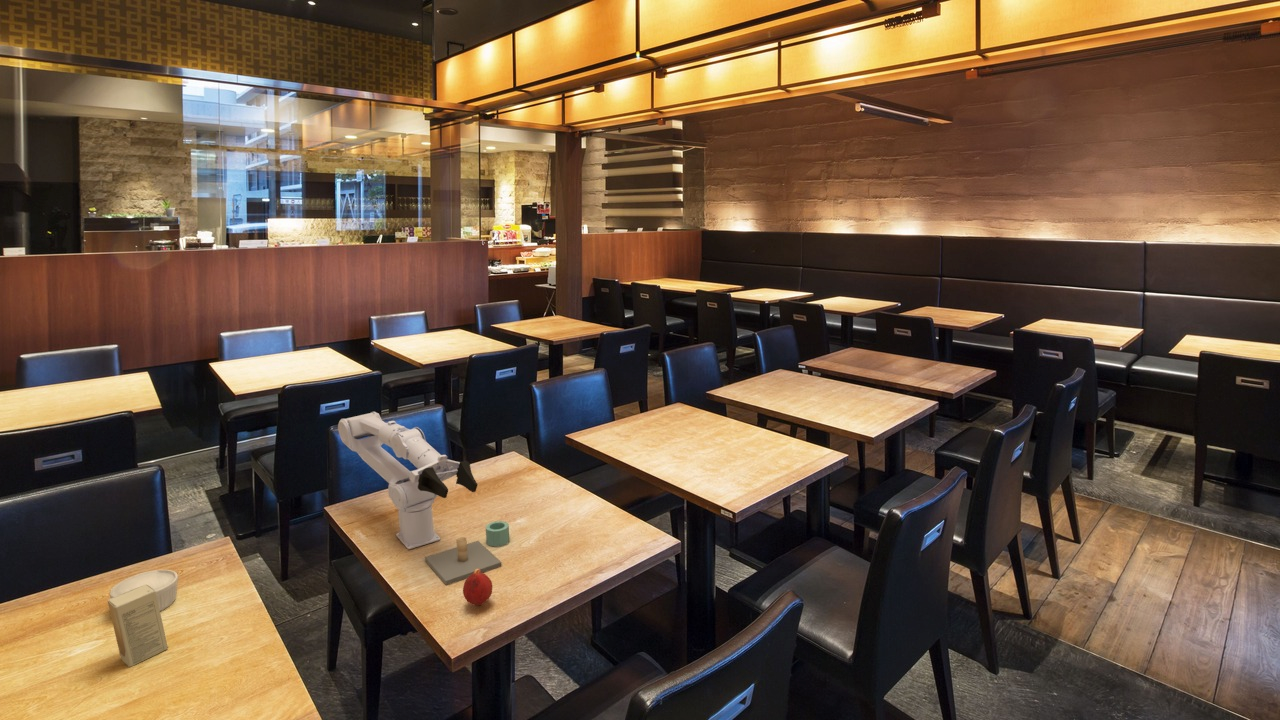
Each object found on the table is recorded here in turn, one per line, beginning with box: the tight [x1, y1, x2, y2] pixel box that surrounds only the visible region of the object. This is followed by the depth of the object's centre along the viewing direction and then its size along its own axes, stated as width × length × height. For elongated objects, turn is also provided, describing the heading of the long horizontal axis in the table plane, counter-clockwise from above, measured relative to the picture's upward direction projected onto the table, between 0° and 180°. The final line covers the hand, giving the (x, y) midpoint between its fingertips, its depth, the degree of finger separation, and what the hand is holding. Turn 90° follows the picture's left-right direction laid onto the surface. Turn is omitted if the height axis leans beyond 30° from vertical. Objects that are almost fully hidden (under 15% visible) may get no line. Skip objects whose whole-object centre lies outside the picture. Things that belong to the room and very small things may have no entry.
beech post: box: [455, 536, 468, 562], centre depth 150 cm, size 2×2×5 cm
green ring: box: [485, 520, 510, 547], centre depth 161 cm, size 5×5×4 cm
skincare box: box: [107, 584, 169, 668], centre depth 119 cm, size 6×4×12 cm
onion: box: [462, 569, 493, 607], centre depth 134 cm, size 6×6×8 cm
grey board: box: [424, 540, 503, 586], centre depth 151 cm, size 13×13×1 cm
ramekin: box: [109, 569, 179, 612], centre depth 135 cm, size 11×11×5 cm
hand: (461, 491), depth 145 cm, fingers open, 7 cm apart
